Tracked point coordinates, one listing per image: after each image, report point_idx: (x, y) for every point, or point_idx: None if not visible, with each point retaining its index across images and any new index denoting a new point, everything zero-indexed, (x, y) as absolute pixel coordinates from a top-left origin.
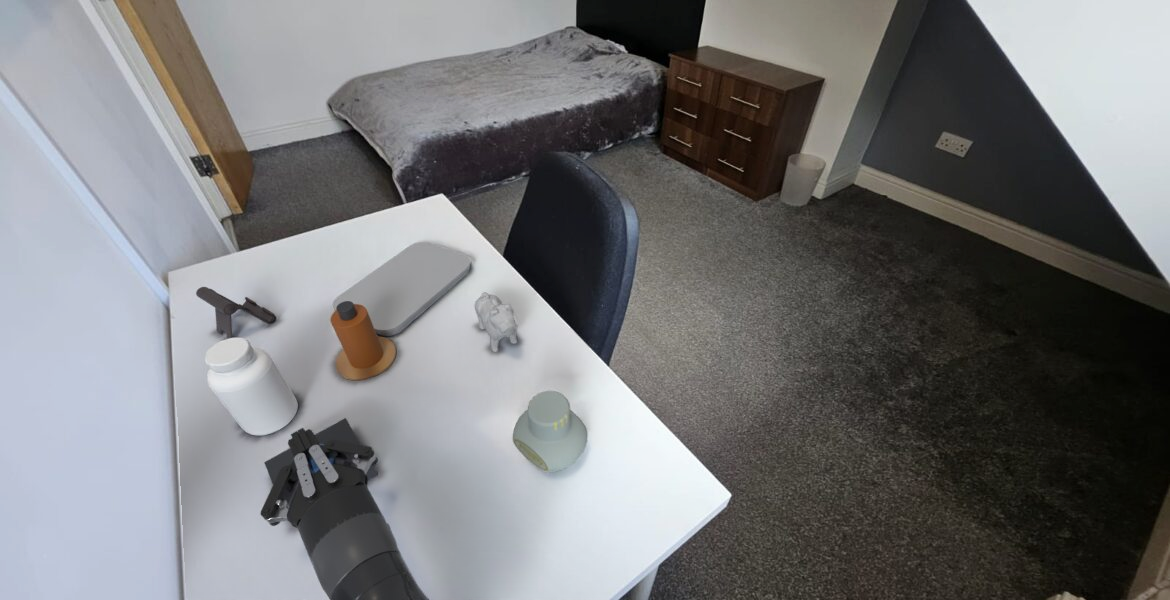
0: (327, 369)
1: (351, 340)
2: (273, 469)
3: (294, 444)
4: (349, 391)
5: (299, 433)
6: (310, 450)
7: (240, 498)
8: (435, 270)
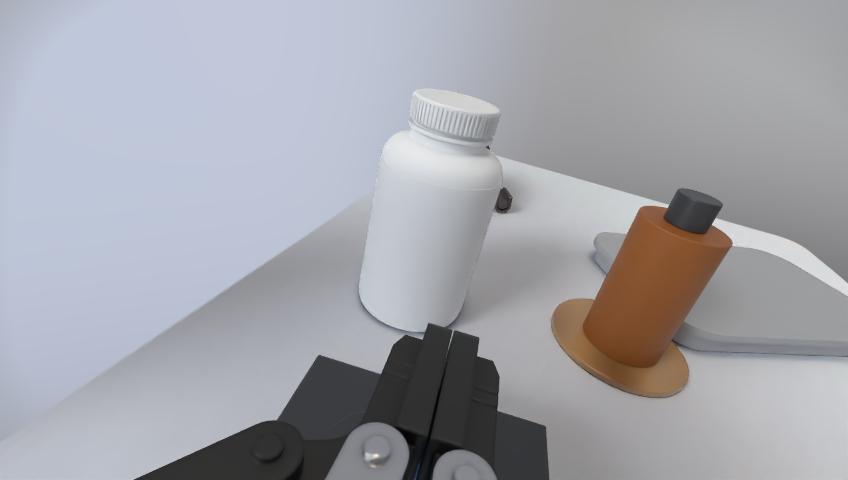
0: (535, 307)
1: (651, 275)
2: (313, 389)
3: (408, 368)
4: (555, 373)
5: (455, 345)
6: (445, 467)
7: (231, 386)
8: (812, 304)
